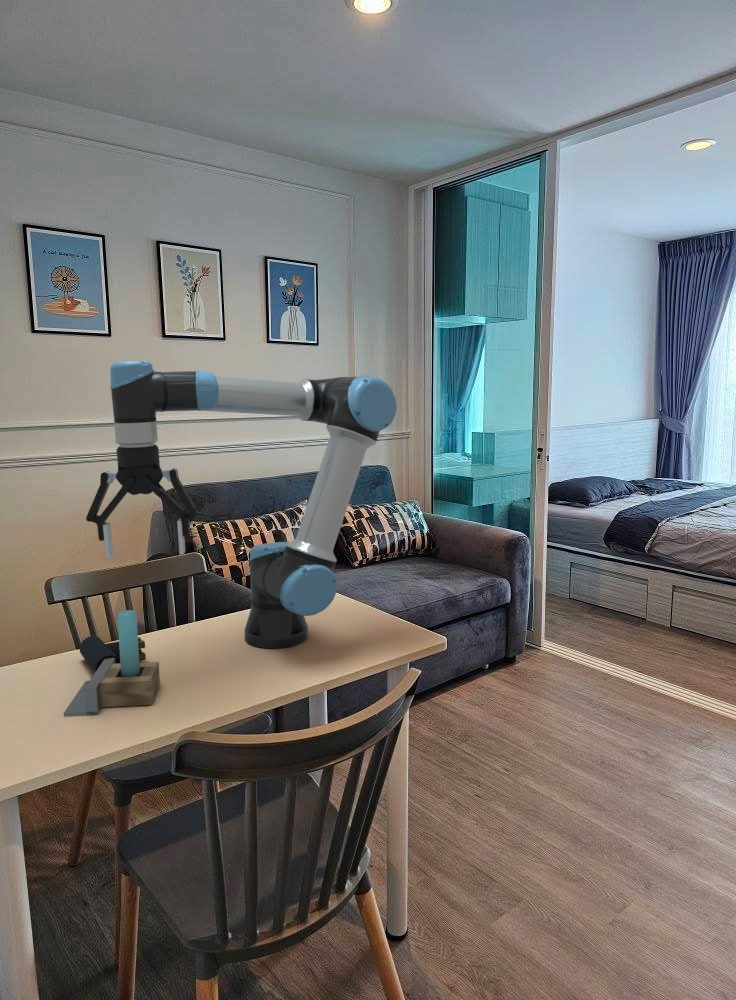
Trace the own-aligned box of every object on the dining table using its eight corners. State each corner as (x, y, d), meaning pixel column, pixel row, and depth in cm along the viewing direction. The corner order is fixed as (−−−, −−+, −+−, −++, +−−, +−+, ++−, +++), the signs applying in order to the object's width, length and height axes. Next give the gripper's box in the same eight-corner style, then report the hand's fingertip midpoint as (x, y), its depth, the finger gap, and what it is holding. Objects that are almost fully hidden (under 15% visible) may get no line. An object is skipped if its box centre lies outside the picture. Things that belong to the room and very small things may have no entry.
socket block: (159, 684, 137) (158, 661, 136) (151, 704, 128) (149, 680, 127) (113, 686, 136) (112, 663, 135) (101, 707, 127) (100, 682, 126)
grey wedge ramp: (116, 682, 138) (115, 657, 137) (98, 714, 124) (96, 687, 124) (85, 683, 137) (84, 659, 137) (63, 716, 124) (61, 689, 123)
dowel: (142, 688, 134) (138, 609, 131) (138, 695, 130) (134, 615, 128) (124, 689, 133) (119, 610, 131) (120, 696, 130) (115, 616, 127)
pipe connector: (132, 628, 155) (152, 645, 143) (133, 650, 156) (153, 670, 143) (78, 637, 148) (95, 657, 136) (80, 661, 149) (96, 682, 137)
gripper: (207, 440, 133) (213, 546, 136) (73, 445, 130) (84, 553, 133) (203, 444, 125) (210, 555, 129) (61, 449, 122) (73, 563, 126)
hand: (146, 554), depth 131 cm, fingers open, 13 cm apart
